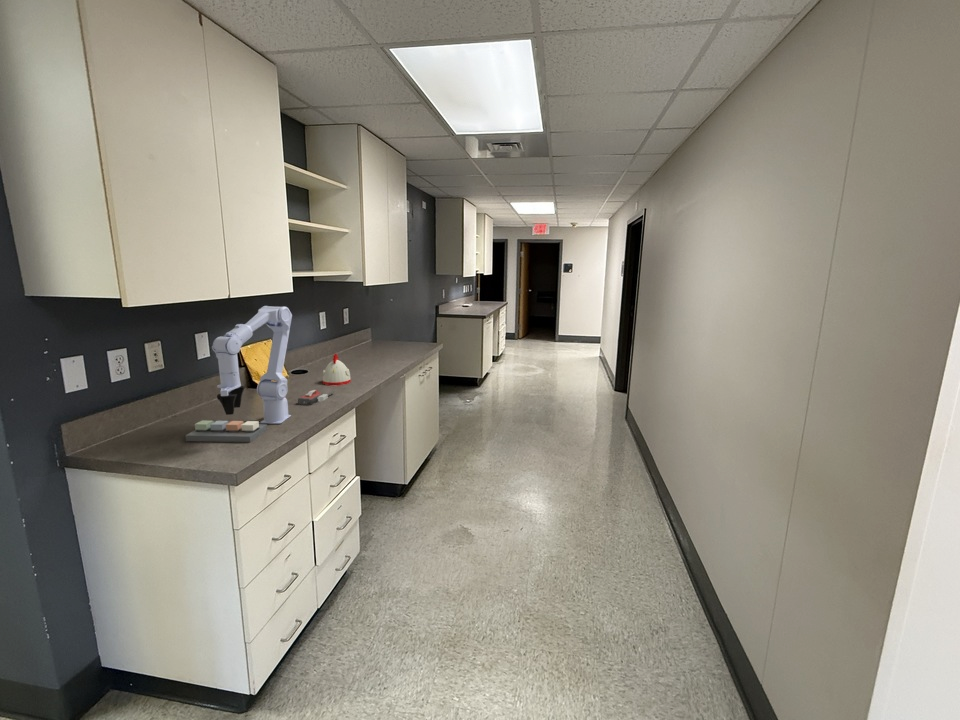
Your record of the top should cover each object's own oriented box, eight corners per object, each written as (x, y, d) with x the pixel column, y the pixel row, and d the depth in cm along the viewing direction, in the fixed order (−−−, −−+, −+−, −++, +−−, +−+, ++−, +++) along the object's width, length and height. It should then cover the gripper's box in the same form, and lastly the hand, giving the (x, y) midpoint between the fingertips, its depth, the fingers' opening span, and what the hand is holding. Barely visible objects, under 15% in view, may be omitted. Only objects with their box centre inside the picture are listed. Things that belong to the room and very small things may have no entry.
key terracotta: (233, 428, 158) (232, 420, 158) (244, 429, 158) (243, 421, 158) (226, 432, 154) (225, 424, 154) (238, 433, 154) (237, 424, 154)
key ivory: (248, 429, 158) (247, 421, 158) (259, 429, 158) (258, 421, 157) (242, 433, 154) (241, 424, 154) (253, 433, 154) (252, 425, 154)
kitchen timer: (319, 385, 225) (318, 356, 222) (326, 379, 238) (324, 351, 235) (348, 385, 226) (346, 356, 223) (353, 379, 239) (351, 351, 236)
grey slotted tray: (207, 428, 162) (207, 423, 162) (267, 429, 162) (267, 424, 162) (186, 441, 151) (185, 435, 150) (250, 442, 151) (250, 436, 150)
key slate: (217, 428, 158) (217, 420, 158) (229, 428, 158) (228, 420, 158) (211, 432, 154) (210, 424, 154) (222, 432, 154) (221, 424, 154)
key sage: (202, 428, 158) (201, 420, 158) (214, 428, 158) (213, 420, 158) (195, 432, 154) (194, 424, 154) (207, 432, 154) (206, 424, 154)
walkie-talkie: (314, 407, 191) (336, 394, 211) (313, 397, 190) (335, 385, 210) (295, 405, 192) (318, 393, 212) (294, 395, 192) (318, 384, 211)
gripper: (223, 367, 156) (227, 405, 158) (208, 377, 142) (213, 418, 144) (245, 367, 157) (248, 403, 160) (232, 376, 143) (236, 416, 146)
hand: (233, 410), depth 152 cm, fingers open, 7 cm apart
